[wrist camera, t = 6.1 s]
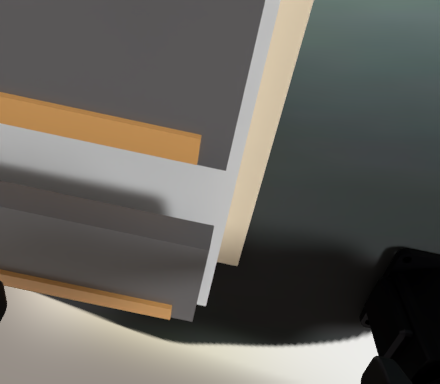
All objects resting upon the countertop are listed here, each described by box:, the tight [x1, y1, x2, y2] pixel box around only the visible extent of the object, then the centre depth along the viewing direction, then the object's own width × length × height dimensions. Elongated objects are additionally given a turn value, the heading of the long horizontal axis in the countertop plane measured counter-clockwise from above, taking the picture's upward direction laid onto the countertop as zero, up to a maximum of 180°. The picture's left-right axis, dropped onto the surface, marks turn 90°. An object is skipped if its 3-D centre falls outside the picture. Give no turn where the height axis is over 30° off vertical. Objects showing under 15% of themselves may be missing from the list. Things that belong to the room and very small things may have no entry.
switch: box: [0, 181, 214, 322], centre depth 15 cm, size 12×6×1 cm, turn 80°
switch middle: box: [0, 0, 265, 171], centre depth 11 cm, size 12×6×1 cm, turn 80°
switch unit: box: [0, 0, 314, 306], centre depth 14 cm, size 18×25×6 cm
